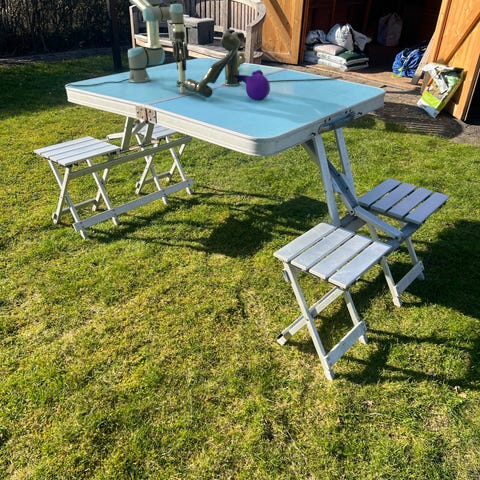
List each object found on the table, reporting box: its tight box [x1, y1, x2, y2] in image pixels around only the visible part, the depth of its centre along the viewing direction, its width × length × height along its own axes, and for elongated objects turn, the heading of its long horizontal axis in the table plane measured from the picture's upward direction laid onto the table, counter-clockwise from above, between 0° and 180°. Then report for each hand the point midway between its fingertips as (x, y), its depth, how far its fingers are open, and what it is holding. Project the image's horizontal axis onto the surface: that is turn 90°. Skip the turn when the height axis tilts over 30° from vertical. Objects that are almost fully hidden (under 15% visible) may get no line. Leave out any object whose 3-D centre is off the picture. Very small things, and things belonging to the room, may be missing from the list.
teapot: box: [238, 51, 246, 69], centre depth 368 cm, size 21×12×15 cm, turn 120°
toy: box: [233, 69, 271, 102], centre depth 280 cm, size 16×18×27 cm
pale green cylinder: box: [177, 67, 188, 94], centre depth 299 cm, size 4×4×18 cm
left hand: (181, 69), depth 297 cm, fingers closed on lid, 5 cm apart
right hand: (180, 81), depth 303 cm, fingers closed on pale green cylinder, 4 cm apart
